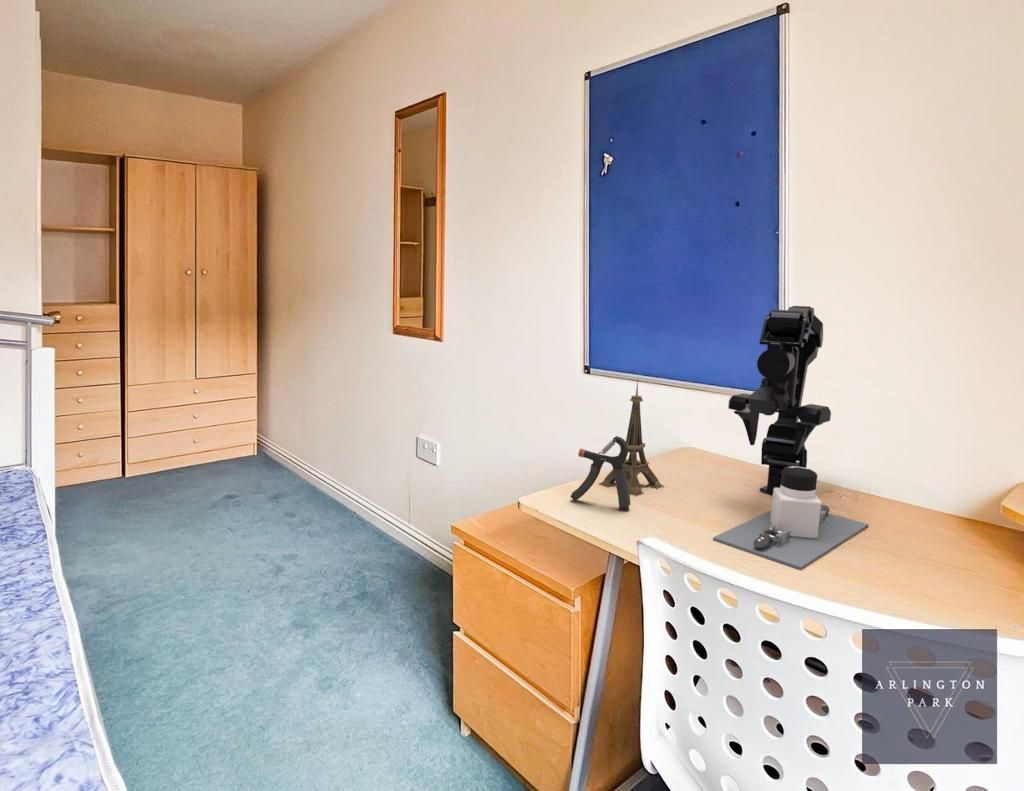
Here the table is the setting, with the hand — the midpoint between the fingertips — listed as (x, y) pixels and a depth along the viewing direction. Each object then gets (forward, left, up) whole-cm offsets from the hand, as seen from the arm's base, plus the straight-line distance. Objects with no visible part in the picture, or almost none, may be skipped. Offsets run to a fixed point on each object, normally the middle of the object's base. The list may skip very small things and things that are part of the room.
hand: (773, 449), depth 132 cm
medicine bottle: (+8, +9, -13) cm, 17 cm away
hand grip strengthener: (+25, -24, -13) cm, 37 cm away
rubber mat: (+8, +9, -13) cm, 18 cm away
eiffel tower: (+9, -28, -13) cm, 32 cm away
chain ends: (+8, +9, -13) cm, 18 cm away
